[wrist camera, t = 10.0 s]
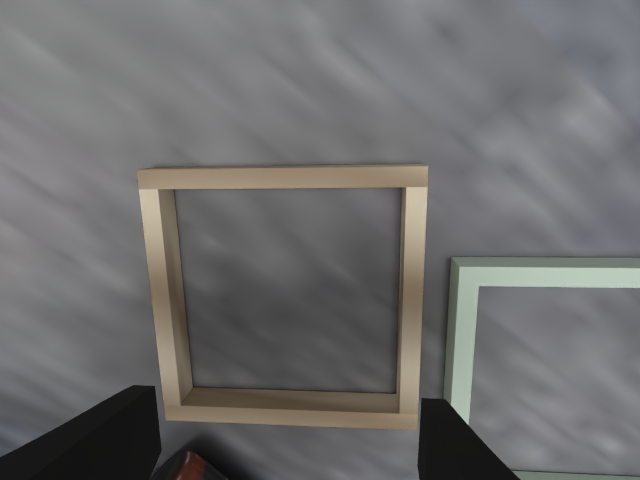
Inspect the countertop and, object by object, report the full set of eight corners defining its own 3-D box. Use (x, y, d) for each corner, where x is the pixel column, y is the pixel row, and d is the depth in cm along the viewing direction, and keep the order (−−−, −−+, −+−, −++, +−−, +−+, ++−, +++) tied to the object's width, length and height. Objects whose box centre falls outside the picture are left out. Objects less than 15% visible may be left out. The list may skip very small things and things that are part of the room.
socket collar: (412, 409, 20) (417, 430, 19) (178, 401, 21) (165, 420, 20) (421, 164, 17) (428, 165, 16) (154, 167, 18) (136, 169, 17)
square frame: (687, 493, 20) (713, 521, 18) (438, 481, 21) (444, 506, 19) (739, 258, 17) (774, 269, 16) (451, 256, 18) (459, 266, 17)
